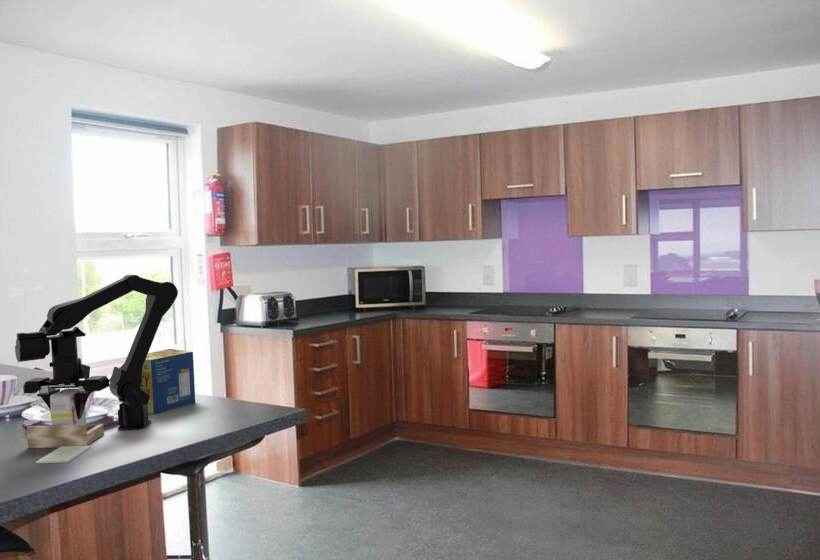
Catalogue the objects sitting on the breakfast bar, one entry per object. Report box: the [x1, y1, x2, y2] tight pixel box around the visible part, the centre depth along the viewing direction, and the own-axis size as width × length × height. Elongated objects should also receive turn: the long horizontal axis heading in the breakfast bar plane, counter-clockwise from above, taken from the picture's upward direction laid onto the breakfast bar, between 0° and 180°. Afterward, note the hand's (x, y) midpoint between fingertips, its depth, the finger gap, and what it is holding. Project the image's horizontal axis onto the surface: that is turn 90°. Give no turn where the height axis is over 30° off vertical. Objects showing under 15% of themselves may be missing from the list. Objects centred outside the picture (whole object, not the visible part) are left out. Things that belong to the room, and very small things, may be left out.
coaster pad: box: [35, 445, 91, 464], centre depth 160 cm, size 7×11×1 cm, turn 0°
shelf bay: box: [26, 423, 105, 449], centre depth 172 cm, size 14×10×5 cm
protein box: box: [140, 348, 196, 415], centre depth 204 cm, size 10×15×16 cm
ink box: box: [50, 388, 88, 431], centre depth 173 cm, size 9×5×12 cm, turn 0°
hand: (69, 419), depth 173 cm, fingers closed on ink box, 5 cm apart
